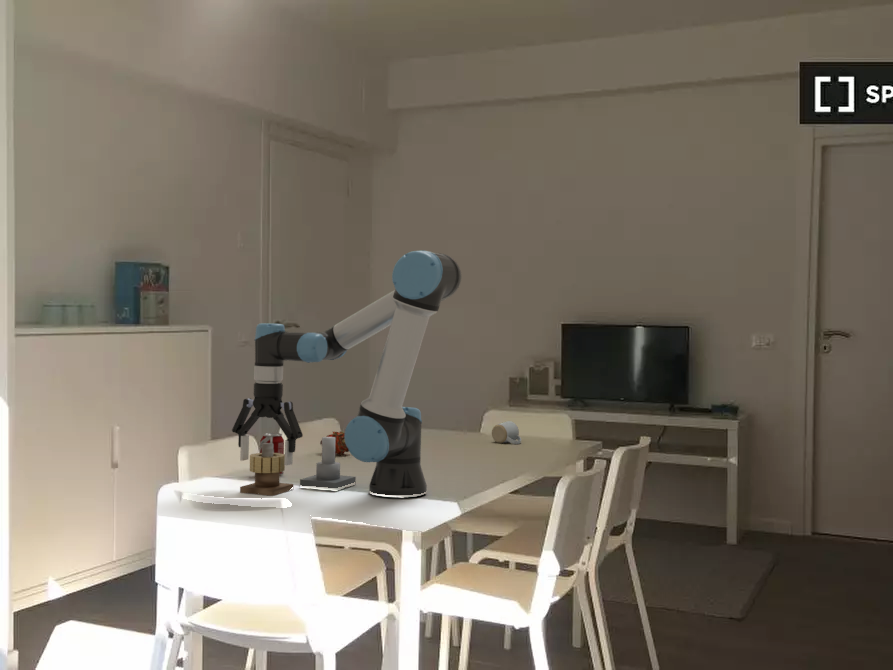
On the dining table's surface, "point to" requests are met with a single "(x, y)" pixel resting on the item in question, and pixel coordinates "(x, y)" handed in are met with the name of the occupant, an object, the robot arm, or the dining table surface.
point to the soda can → (277, 443)
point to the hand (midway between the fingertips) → (266, 462)
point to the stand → (266, 479)
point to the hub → (328, 469)
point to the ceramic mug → (506, 433)
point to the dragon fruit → (339, 442)
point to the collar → (267, 463)
